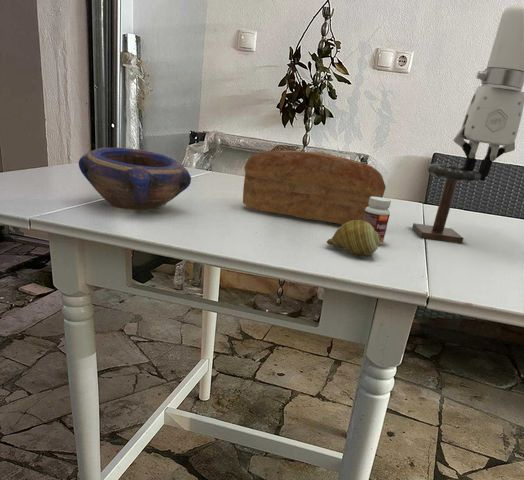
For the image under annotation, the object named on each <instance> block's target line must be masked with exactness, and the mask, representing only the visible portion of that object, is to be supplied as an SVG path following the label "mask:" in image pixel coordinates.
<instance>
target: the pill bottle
mask: <svg viewBox="0 0 524 480" xmlns="http://www.w3.org/2000/svg"><path fill="white" fill-rule="evenodd" d="M391 201H392V200H391V199H388V198H385V197H382V198H381V197H370V199H369V206H368V207H366V209H365V213H364V217H363V221H366V222H368V223H369V224H371V225H372V227H373V228H374V231H376V232H377V233H378V235H380V236H381V238H382V239H381V241H380V243H379V246H381V245H384V239H385V236H386V232H387V228H388V223H389V219H390V216H391V213H390V212H391V211H390V210H389V209H390V208H391Z"/></svg>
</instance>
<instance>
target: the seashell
mask: <svg viewBox="0 0 524 480" xmlns="http://www.w3.org/2000/svg"><path fill="white" fill-rule="evenodd" d="M381 239H382V238H381V236H380V235H378V233H377V232H376V231H374V228H373V227H372V225H371V224H369V223H368V222H366V221H362V220H352V221H349V222H346V223H345V224H343V225H342V224H341V225H340V226H339V227H338V228H337V230H336V231H335V233H334V234H333V235H332V237H331V238H328V239H327V240H326V244H327V245H330V246H334V247H336V248H338V249H343V250H344V249H345V250H346V251H347V252H348V253H349V254H351V255H352V256H355V257H358V258H359V257H361V258H362V257H368V256H371V255H372V254H374V253H375V252H376V251H377V250H378V249H379V247H380V245H379V243H380V241H381Z"/></svg>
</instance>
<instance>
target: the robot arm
mask: <svg viewBox="0 0 524 480" xmlns="http://www.w3.org/2000/svg"><path fill="white" fill-rule="evenodd" d="M496 30H497V31H496V33H495V37H494V41H493V44H492V48H491V52H490V54H489V58H488V62H487V64H486V68H485V69H484V70H482V71H481V70H479V71H478V72H477V74H476V80H477V79H478V80H480V81H481V82H480V84H481V85H478V86H477V87H476V90H475V92H474V94H473V96H472V98H471V100H470V102H469V106H468V107H467V110H466V113H465V116H464V119H463V121H462V125H461V128H460V130H459V131H458V132H457V134H456V135H455V136H454V137H453V143H454V144H456V145H457V146H459V147H460V148H461V149H462V150H463V153H464V155H465V157H466V158H465V161H464V164H463V167H464V168H463V170H464V171H473V170H474V169H475V166H476V163H477V158H476V155H477V152H478V150H479V149H478V148H479V145H480V143H482V144H488V147H487V150H486V153H485V156H484V158H482V159H481V160H480V161H481V162H480V165H479V168H478V171H480V172H481V173H482V178H481V179H480V180H479V181H482V182H484V181H485V180H486V177H488V176H489V173H490V171H491V168H492V165H493V162H494V161H496V159H497V158H499V157H501V156H502V155H503V154H506V153H510V152H514V151H515V149H516V143H515V141H516V140H517V139H516V138H517V135H518V132H519V128H520V125H521V121H522V116H523V111H524V91H522V90H523V87H524V4H513V5H509V6H507V7H506V8H504V11H503V12H502V14H501V17H500V20H499V23H498V26H497V29H496ZM466 140H467V141H469V142H467V141H466Z"/></svg>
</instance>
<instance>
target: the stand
mask: <svg viewBox="0 0 524 480" xmlns="http://www.w3.org/2000/svg"><path fill="white" fill-rule="evenodd" d="M458 181H459V180H452V179H446V178H445V182H444V185H443V188H442V192H441V196H440V199H439V203H438V206H437V211H436V214H435V219H434V222H433V225H430V224H429V225H428V224H422V223H416V222H413V224H412V227H411V229H412V230H413V231H414V232H415V233H416V234H417V235H418V236H419V237H420V238H421V239H428V240H434V241H442V242H449V243H455V244H456V243H457V244H463V242H464V237H463V236H462V235H461V234H460V233H458V232H457V231H456V230H454V229H453V228H451V227H446V224H447V220H448V216H449V212H450V210H451V205H452V202H453V199H454V195H455V192H456V188H457V185H458Z"/></svg>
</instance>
